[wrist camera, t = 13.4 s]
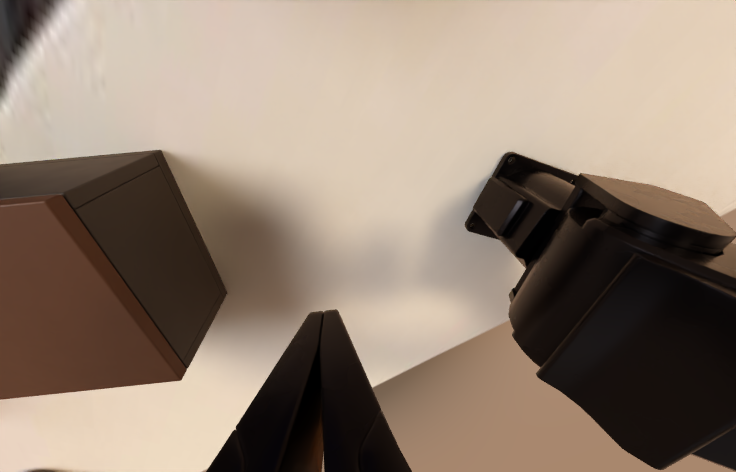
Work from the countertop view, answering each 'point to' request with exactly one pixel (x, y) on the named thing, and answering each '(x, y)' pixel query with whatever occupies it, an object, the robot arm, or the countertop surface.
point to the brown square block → (69, 309)
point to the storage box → (136, 234)
